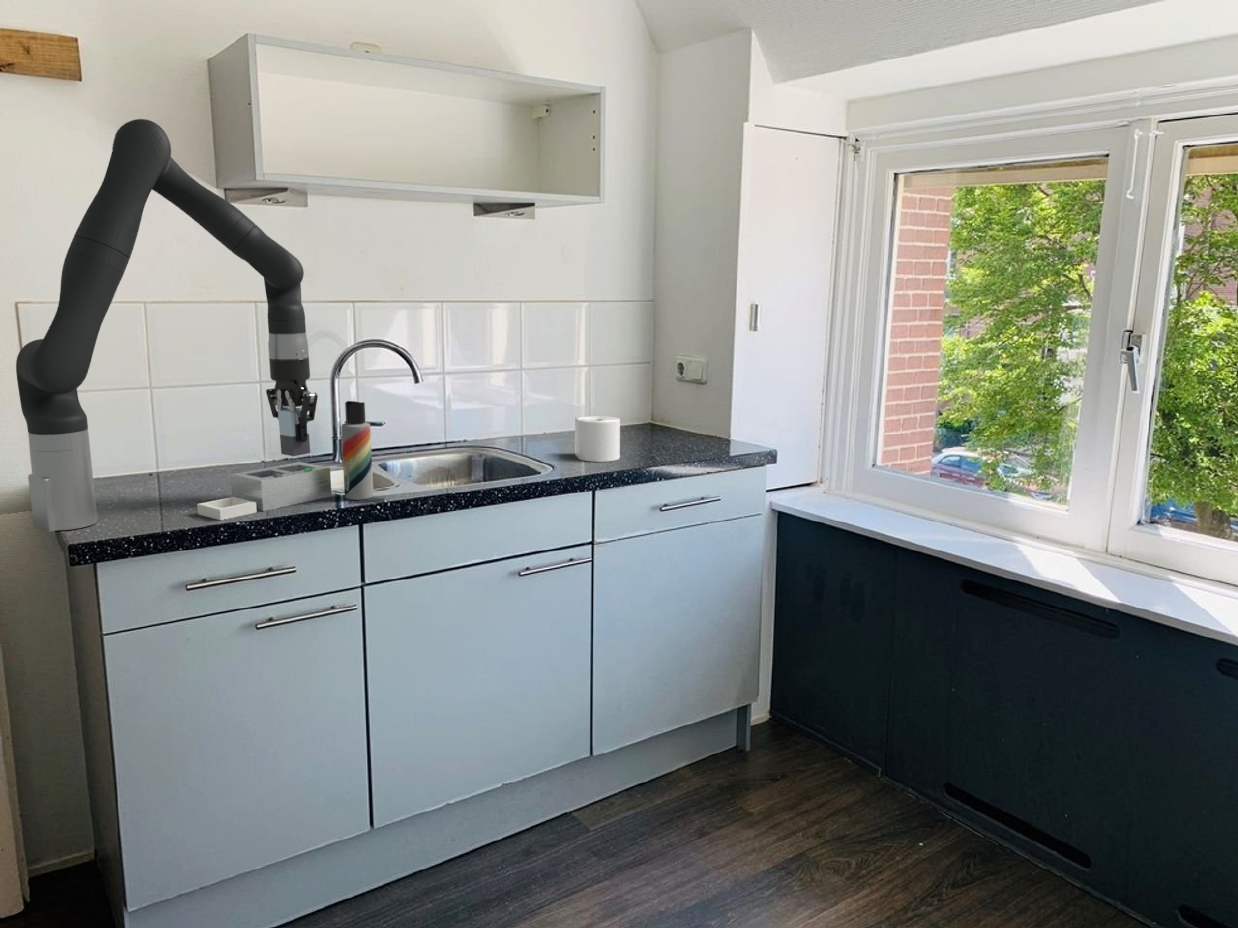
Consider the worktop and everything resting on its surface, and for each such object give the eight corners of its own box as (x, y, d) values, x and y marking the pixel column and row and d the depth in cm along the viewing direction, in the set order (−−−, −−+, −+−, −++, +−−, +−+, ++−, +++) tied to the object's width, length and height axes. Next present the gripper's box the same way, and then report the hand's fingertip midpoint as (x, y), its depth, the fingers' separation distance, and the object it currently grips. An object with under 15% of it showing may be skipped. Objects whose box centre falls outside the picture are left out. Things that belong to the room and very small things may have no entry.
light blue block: (293, 456, 190) (290, 411, 188) (281, 454, 192) (277, 410, 190) (310, 453, 193) (307, 409, 191) (298, 450, 195) (294, 407, 194)
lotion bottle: (338, 497, 194) (333, 400, 190) (359, 492, 198) (355, 397, 194) (358, 501, 191) (354, 402, 187) (379, 496, 195) (375, 400, 192)
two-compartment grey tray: (263, 511, 182) (261, 478, 181) (232, 503, 188) (230, 472, 186) (331, 496, 195) (329, 465, 194) (301, 489, 201) (299, 460, 199)
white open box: (220, 520, 175) (219, 509, 175) (197, 514, 179) (197, 504, 179) (256, 512, 181) (255, 502, 181) (233, 506, 185) (233, 496, 185)
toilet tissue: (617, 463, 232) (617, 422, 231) (568, 461, 234) (568, 421, 232) (622, 455, 243) (622, 416, 241) (576, 453, 244) (576, 415, 242)
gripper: (250, 355, 190) (257, 439, 193) (295, 359, 182) (301, 447, 185) (283, 352, 196) (288, 434, 199) (327, 356, 188) (332, 441, 191)
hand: (294, 440), depth 192 cm, fingers closed on light blue block, 4 cm apart
